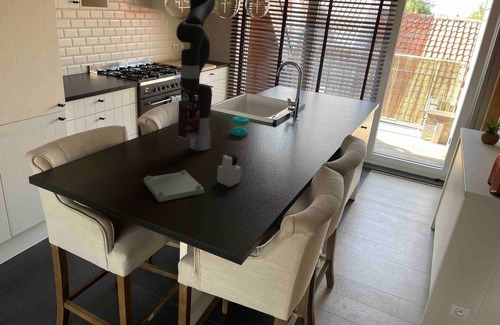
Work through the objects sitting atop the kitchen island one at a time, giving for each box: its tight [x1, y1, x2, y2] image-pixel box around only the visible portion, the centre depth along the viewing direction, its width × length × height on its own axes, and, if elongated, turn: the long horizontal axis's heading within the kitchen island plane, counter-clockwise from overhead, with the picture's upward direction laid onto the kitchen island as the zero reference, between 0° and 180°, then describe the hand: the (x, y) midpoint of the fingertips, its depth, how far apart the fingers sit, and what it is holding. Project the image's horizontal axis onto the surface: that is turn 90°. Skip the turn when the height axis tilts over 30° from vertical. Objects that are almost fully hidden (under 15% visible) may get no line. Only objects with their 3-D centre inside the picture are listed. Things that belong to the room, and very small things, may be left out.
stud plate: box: [143, 169, 205, 203], centre depth 144 cm, size 18×18×3 cm
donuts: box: [230, 116, 250, 138], centre depth 214 cm, size 10×10×10 cm
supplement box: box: [177, 100, 200, 140], centre depth 154 cm, size 9×5×16 cm, turn 143°
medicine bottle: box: [216, 153, 242, 188], centre depth 151 cm, size 7×7×12 cm
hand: (189, 116), depth 154 cm, fingers closed on supplement box, 6 cm apart
